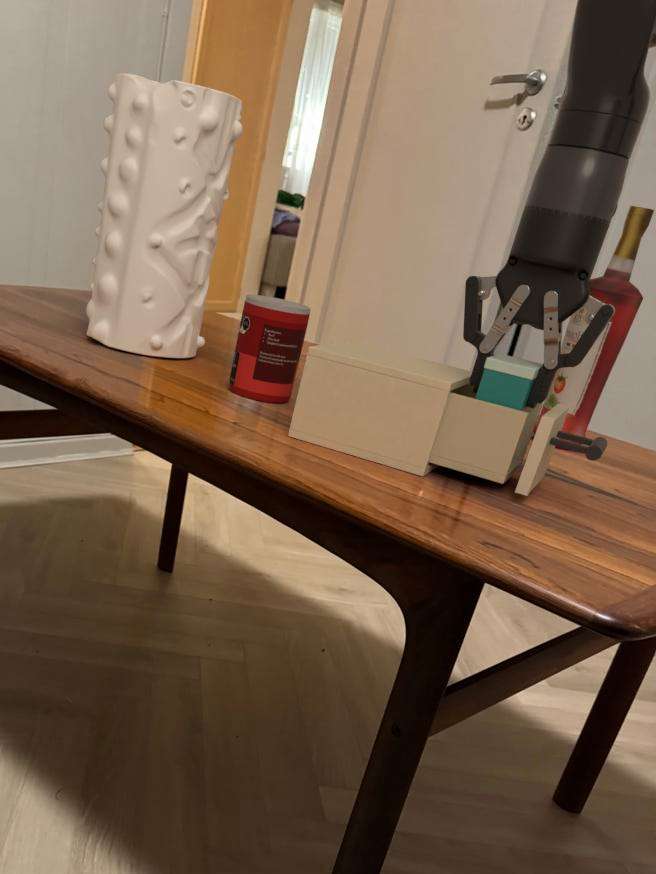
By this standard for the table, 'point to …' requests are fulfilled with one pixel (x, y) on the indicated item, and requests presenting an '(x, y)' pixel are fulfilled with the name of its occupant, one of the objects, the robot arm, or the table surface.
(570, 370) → the liquor
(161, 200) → the vase
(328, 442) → the cabinet
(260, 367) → the canned food
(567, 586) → the table surface
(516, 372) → the small lidded box
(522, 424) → the drawer
